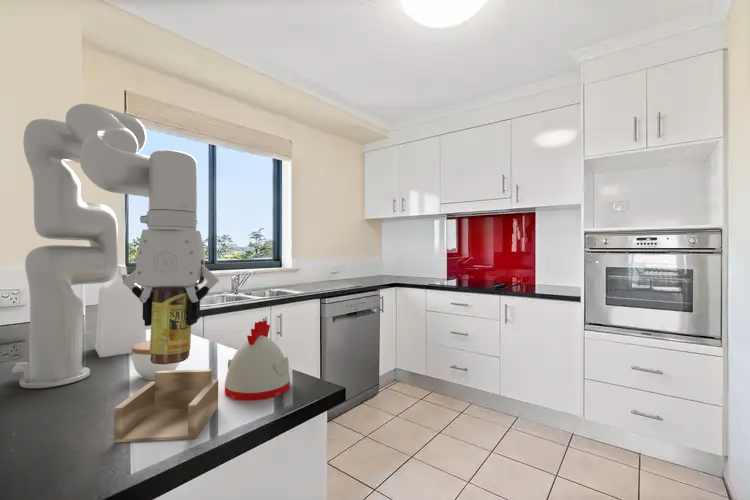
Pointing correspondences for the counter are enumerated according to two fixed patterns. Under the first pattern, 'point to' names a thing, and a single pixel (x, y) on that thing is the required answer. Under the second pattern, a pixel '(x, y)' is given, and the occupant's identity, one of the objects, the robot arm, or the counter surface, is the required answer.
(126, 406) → the oak rest
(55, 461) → the counter surface
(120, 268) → the milk
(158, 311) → the sauce bottle
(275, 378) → the kitchen timer
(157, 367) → the lidded jar
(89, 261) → the robot arm
